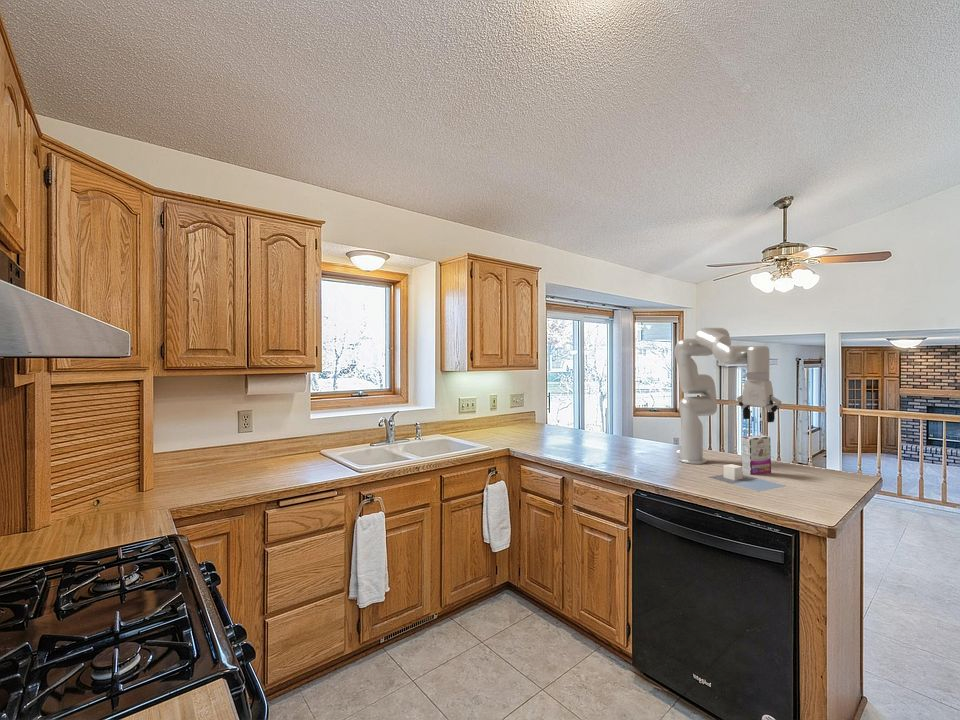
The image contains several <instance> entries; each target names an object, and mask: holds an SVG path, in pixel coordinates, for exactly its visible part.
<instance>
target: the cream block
mask: <svg viewBox="0 0 960 720" xmlns="http://www.w3.org/2000/svg"><path fill="white" fill-rule="evenodd" d="M722 467H723V474H724V477H725V478H728V479H732V480H738V479H743V475H744V474H743V473H744V472H743V467H742V466H741V465H737V464H732V463H731V464H730V463H729V464H724V465H723V466H722Z"/></svg>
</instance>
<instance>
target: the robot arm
mask: <svg viewBox="0 0 960 720" xmlns="http://www.w3.org/2000/svg"><path fill="white" fill-rule="evenodd" d="M731 344H732V340H731V339H730V333H729V330H727V328H724V327H703V328H700V329H698V330H697V331H696V332H695V334H694V338H684V339H681V340H678V341H677V342H676V344H675V346H674V357H675V360H676V363H677V367H678V377H679V387H680V390H681V392H682V393H683V394H687V395H697V394H698V395H700V396H686V397H682V398H681V399H680V400H679V403H678V409H679V415H680V426H681V427H680V428H681V429H680V430H681V431H680V432H681V434H680V435H681V439H680V440H681V449H678V450H676V451H675V453H676V454H677V455H679V456H678V458H677V460H678V461H679V462H681V463H684V464H691V465H692V464H693V465H702V464H706V463H707V462H708V461H707V460H708V459H706V458H705V457H704V434H703V433H704V429H703V427H704V426H703V423H702V422H701V419H700V418H699V417H706V416H707V417H708V416H713V415H715V414H716V413H717V410H718V400H717V391H716V383H715V380H714V378H713V377H712V376H711V375H709V374H703V373H702V374H699V372H698V364H697V363H696V362H695V360H694V359H693V358H692V357H709V356H712V355H713V357H714V358H715V359H716V360H718V361H720V362H722V363H724V364H728V365H746V373H745V374H744V377H745V378H746V380H744V382H743V389H742V395H740V396H737V398H736V400H737V402H738V404H739V406H740V407H741V409H742V419H743V420H749V419H751V409H750V408H751V406H752V407H760V408H761V407H762V408H763V407H764V408H766V409H767V412H766V423H774V422H775V413H777V412H776V411H778V409H780V406H781V405H782V400H780V399H778V398H776V397H775V396H774V390H773V383H772V380H770V347H768V346H766V345H731Z"/></svg>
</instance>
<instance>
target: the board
mask: <svg viewBox="0 0 960 720" xmlns="http://www.w3.org/2000/svg"><path fill="white" fill-rule="evenodd" d="M708 478H709V479H714V480H716V481H721V482H725V483H727V484H731V485H735V486H738V487H742V488H745V489H749V490H752V491H756V492H763V491H768V490H773V489H777V488H781V487H782V488H783V487H786V485H785V484H781V483H776V482H773V481H768V480H765V479H762V478H758V477H753V476H751V475H750V476H749V475H745V474H743V479H738V480H732V479H728V478H725V477H724V473H723V474H718V475H711V476H708Z"/></svg>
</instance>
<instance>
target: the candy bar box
mask: <svg viewBox="0 0 960 720" xmlns="http://www.w3.org/2000/svg"><path fill="white" fill-rule="evenodd" d="M771 453H772V452H771V436H767V435H762V434H761V435H759V434H758V435H750V436H741V462H742V467H743V473H744V474H748V475H750V476H751V475H761V474H770V475H771V474H772V460H771V459H772V456H771V455H772V454H771Z"/></svg>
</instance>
